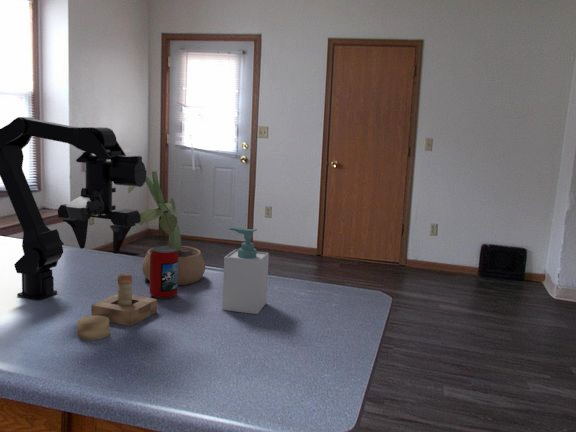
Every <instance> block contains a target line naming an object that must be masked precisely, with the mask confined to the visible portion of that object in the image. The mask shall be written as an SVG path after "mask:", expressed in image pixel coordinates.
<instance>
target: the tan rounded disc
mask: <svg viewBox="0 0 576 432" xmlns="http://www.w3.org/2000/svg"><path fill="white" fill-rule="evenodd" d="M109 335H110V322H109V318H107V317H105V316H98V315H94V316H91V315H86V316H83V317H81V318H79V319H78V320H77V337H78V339H81V340H84V341H85V340H87V341H95V340H101V339H104V338H107V337H108V336H109Z"/></svg>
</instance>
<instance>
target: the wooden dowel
mask: <svg viewBox="0 0 576 432" xmlns="http://www.w3.org/2000/svg"><path fill="white" fill-rule="evenodd" d="M132 292H133V275H132V274H130V273H123V274H118V275H117V294H118V305H121V306H126V307H128V306H130V305H132V295H133V293H132Z"/></svg>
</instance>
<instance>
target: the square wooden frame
mask: <svg viewBox="0 0 576 432" xmlns="http://www.w3.org/2000/svg"><path fill="white" fill-rule="evenodd" d="M90 306H91V307H90V308H91V315H90V316H94V315H98V316H105V317H107V318H109V323H113V324H119V325H124V326H129V327H132V326H133V325H135V324H138V323H140V322H142V321H143V320H145V319H147V318H149V317H151V316H153V315H154V314H156V313H158V298H152V297H146V296H141V295H135V294H132V305H130V306H128V307H126V306H121V305H118V293H116V294H114V295H111V296H108V297H107V298H104V299H101V300H100V301H97V302H95V303H93V304H91V305H90Z"/></svg>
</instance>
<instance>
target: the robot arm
mask: <svg viewBox="0 0 576 432" xmlns="http://www.w3.org/2000/svg"><path fill="white" fill-rule="evenodd" d="M116 136H117V135H116V134H115V132H114V130H113V129H111V128H109V127H85V126H83V127H82V126H81V127H77V126H71V125H67V124H61V123H57V122H52V121H51V122H50V121H46V120H41V119H36V118H33V117H24V116H18V117H16V118H14V119H13V120H12V121H11V122H10V123H8V124H7V125H5V126H3V127H1V128H0V178H1V181H2V184H3V186H4V188H5V191H6V194H7V196H8V198H9V201H10V203H11V206H12V208H13V210H14V212H15V215H16V218H17V220H18V221H19V224H20V228H21V230H22V233H23V235H22V242H21V247H22V251H23V255H22V256H21V257H20V258H19V259H18V260H17V261H16V262H15V263H14V268H15V271H16V273H17V274H21V289H22V290H21V291H20V292H18V293H16V296H17V297H21V298H27V299H32V300H37V301H38V300H42V299H45V298H47V297H50V296H53V295H55V294H57V293H58V290H57V289H54V288H55V287H54V286H55V285H54V276H53V269H52V268H56V267H57V266H58V263H59V260H60V259H62V256H63V254H64V247H63V246H64V245H65V244H64V242H63V241H62V239H61V237H60V233H59V231H58V229H56V228H54V229H52V230H51V229H50V228H49V227H48V226H47V225H46V224H45V222H44V219H43V217H42V214H41V212H40V210H39V207H38V204H37V202H36V200H35V197H34V195H33V192H32V189H31V188H30V185H29V182H28V180H27V177H26V175H25V173H24V170H23V163H24V153H23V149H24V148H25V147H26V146H27V145H28V144H29V143H30V141H31V139H32V138H33V137H35V138H38V139H39V138H40V139H46V140H49V141H55V142H60V143H65V144H69V145H70V146H73V147H75V148H76V149H78V150H80V151H83V152H82V154H81V155H80V156H78V157H77V158H76V159H75V161H76V163H81V164H82V163H85V187H81V190H80V195H79V197H76V198H74V199H73V200H71V201H70V202H69V203H64V204H60V206H58V208H57V218H61V220H62V221H63V222H65V223H66V224H68V225H69V226H70V227H71V229H72V231H73V233H74V236H75V238H76V241H77V245H78V247H79V248H80V249H81V250H83V249H85V247H86V243H87V236H88V227H89V226H88V225H89V220H90V218H94V219H95V218H97V219H103V220H110V222H111V224H112V225H109V228H110V229H111V230H112V240H113V241H112V246H113V247H112V249H113V255H116V254H118V253H119V252H120V249H121V248H122V245H123V243H124V241H125V239H126V237H127V235H128V233H129V232H130V230H131V228H132V227H135V226H136V224H138V223H140V221H141V215H140V213H141V212H139V210H137V209H129V208H123V209H118V210H117V209H116V207H117V205H115V204H113V193H116V192H117V191H116V189H117V188H116V187H113V184H114V185H116V186H124V187H129V186H135V188H138V187H139V188H141V187H143V186H144V185H145V183H146V182H145V180H146V176H147V174H148V173H147V170H146V165H145V163H144V162H143V157H142V156H141V155H135V156H134V155H132V156H131V155H126V153H125V151H124V150H123V148H122V147H121V145H120V144H119V142H118V141H117V137H116Z"/></svg>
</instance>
